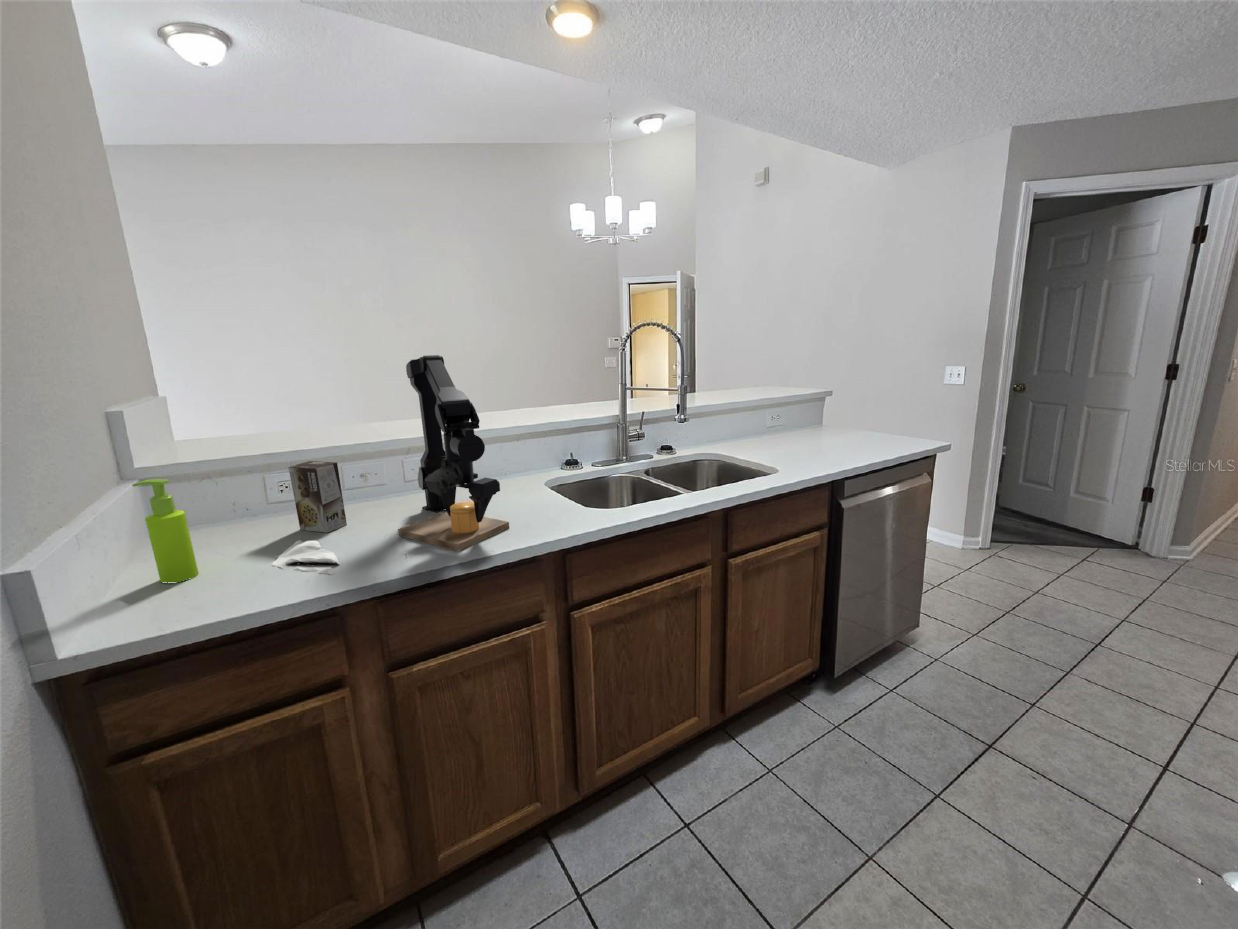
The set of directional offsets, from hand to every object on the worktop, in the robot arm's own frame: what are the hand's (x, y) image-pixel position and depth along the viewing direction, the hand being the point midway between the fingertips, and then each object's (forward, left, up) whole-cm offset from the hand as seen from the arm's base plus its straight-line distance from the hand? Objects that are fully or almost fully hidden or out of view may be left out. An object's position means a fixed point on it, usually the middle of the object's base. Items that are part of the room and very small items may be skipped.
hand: (465, 518), depth 124 cm
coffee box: (-36, -13, -4) cm, 38 cm away
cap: (0, 0, -2) cm, 2 cm away
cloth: (-20, -26, -5) cm, 33 cm away
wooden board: (-4, 0, -4) cm, 6 cm away
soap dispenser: (-34, -44, -4) cm, 56 cm away
